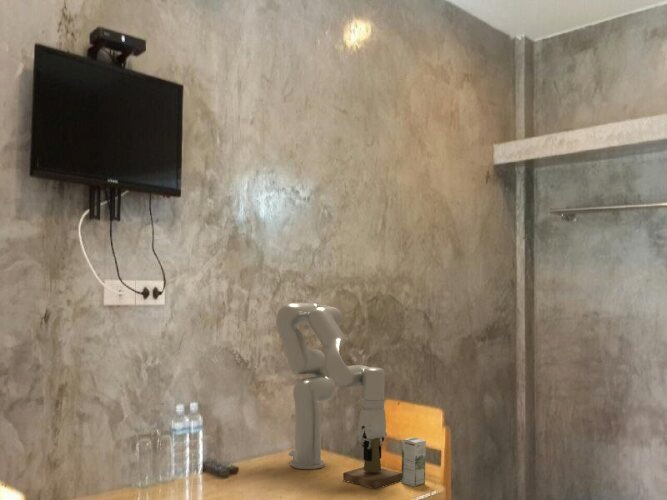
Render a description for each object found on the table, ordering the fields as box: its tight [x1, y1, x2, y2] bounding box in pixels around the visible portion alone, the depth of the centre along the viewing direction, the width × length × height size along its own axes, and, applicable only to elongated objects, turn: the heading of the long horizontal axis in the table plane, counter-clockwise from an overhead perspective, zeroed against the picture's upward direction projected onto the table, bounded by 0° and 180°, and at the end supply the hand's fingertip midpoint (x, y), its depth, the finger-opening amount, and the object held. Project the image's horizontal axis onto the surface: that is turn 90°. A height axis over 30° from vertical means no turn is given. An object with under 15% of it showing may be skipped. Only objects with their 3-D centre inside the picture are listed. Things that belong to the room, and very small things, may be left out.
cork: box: [363, 438, 382, 472], centre depth 213 cm, size 6×6×11 cm
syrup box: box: [400, 437, 427, 487], centre depth 210 cm, size 6×6×14 cm
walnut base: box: [342, 466, 402, 490], centre depth 212 cm, size 14×14×2 cm
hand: (372, 458), depth 213 cm, fingers open, 4 cm apart
